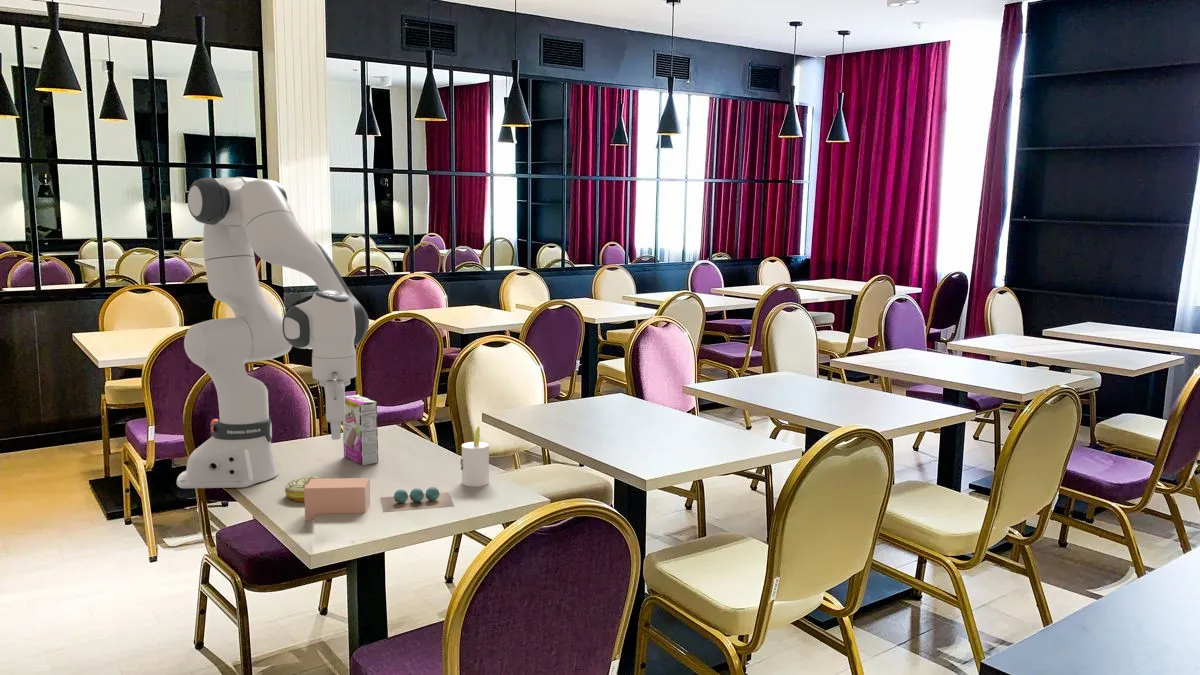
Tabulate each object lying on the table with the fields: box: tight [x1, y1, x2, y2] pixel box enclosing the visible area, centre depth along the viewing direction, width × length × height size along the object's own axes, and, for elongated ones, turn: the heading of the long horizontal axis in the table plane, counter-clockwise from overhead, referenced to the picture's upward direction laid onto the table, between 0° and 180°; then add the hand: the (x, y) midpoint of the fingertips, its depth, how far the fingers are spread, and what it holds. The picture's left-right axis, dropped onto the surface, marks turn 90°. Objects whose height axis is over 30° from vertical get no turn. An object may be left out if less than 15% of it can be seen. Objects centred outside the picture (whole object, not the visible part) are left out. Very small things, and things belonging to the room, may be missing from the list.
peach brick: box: [304, 477, 371, 522], centre depth 190 cm, size 12×7×7 cm, turn 96°
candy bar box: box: [342, 394, 379, 467], centre depth 230 cm, size 11×5×16 cm, turn 40°
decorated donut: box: [284, 476, 328, 503], centre depth 202 cm, size 10×11×4 cm
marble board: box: [379, 486, 455, 513], centre depth 194 cm, size 15×10×4 cm, turn 107°
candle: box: [460, 426, 490, 487], centre depth 208 cm, size 6×6×15 cm
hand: (335, 433), depth 188 cm, fingers open, 8 cm apart
